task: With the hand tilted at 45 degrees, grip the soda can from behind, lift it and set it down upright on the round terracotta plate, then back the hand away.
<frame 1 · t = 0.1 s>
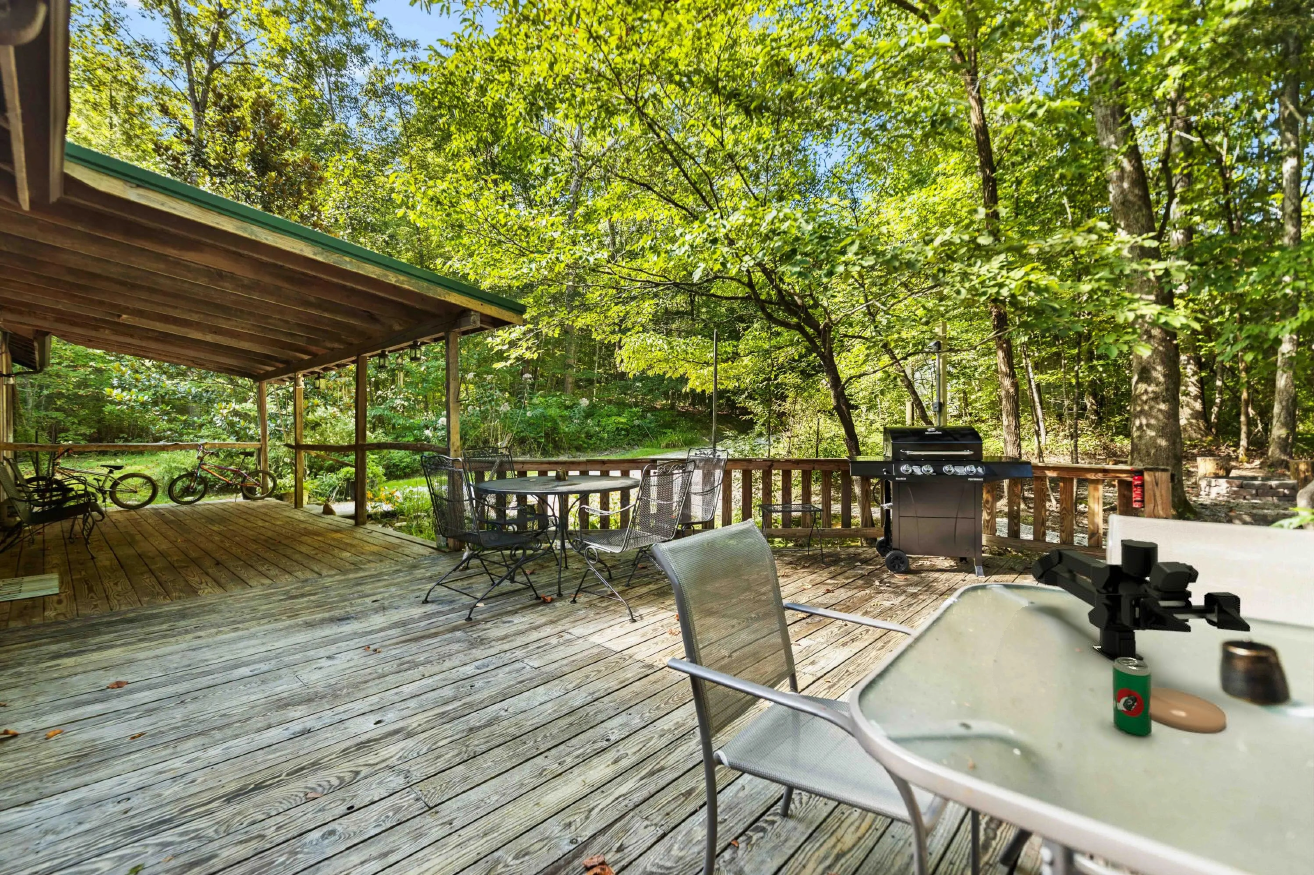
hand: (1219, 629, 95), 17 cm above the table, tool horizontal, fingers open, 9 cm apart
terracotta plate: (1178, 713, 99), on the table
soda can: (1132, 730, 95), on the table
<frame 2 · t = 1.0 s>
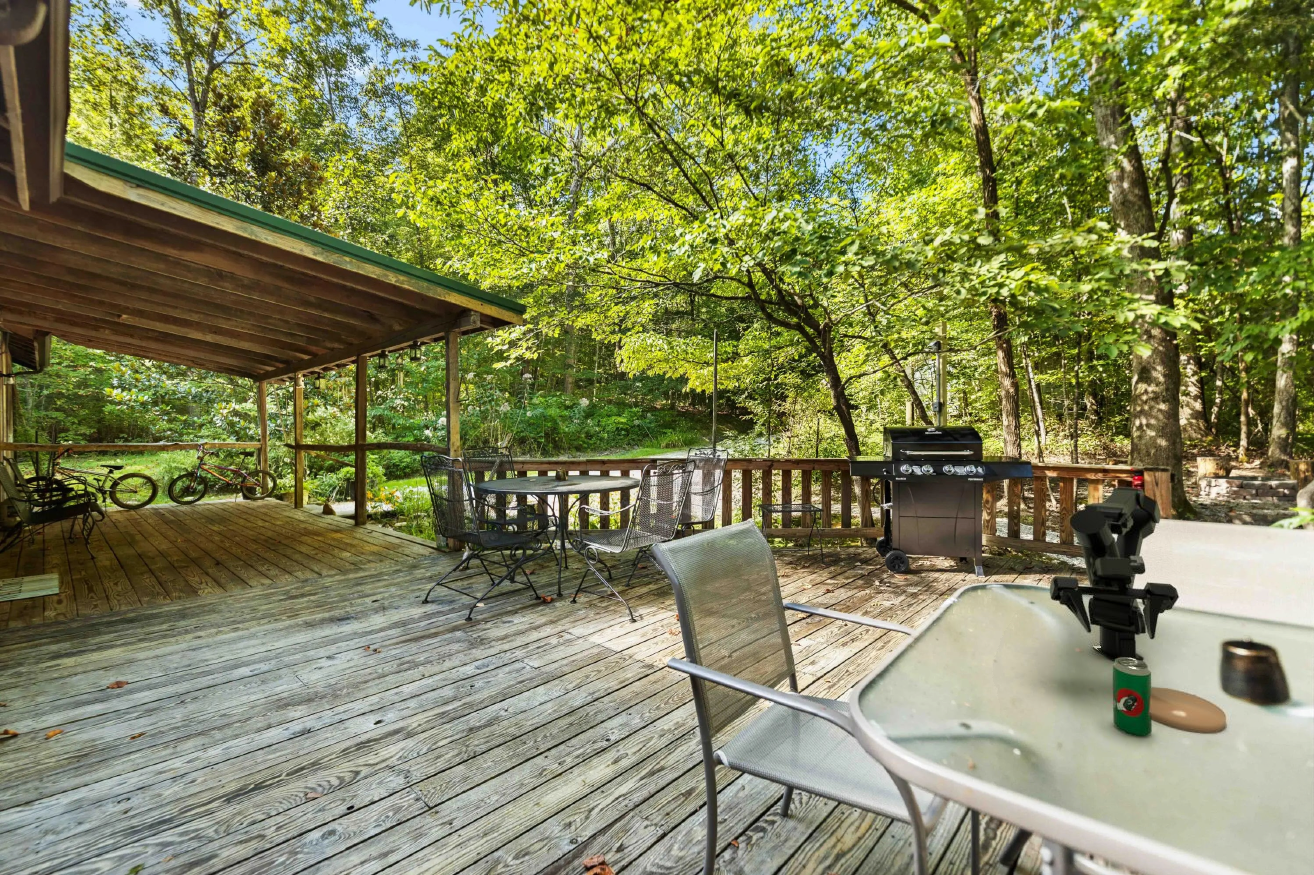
hand: (1120, 634, 101), 14 cm above the table, tool tilted 45°, fingers open, 9 cm apart
nothing on the table moved.
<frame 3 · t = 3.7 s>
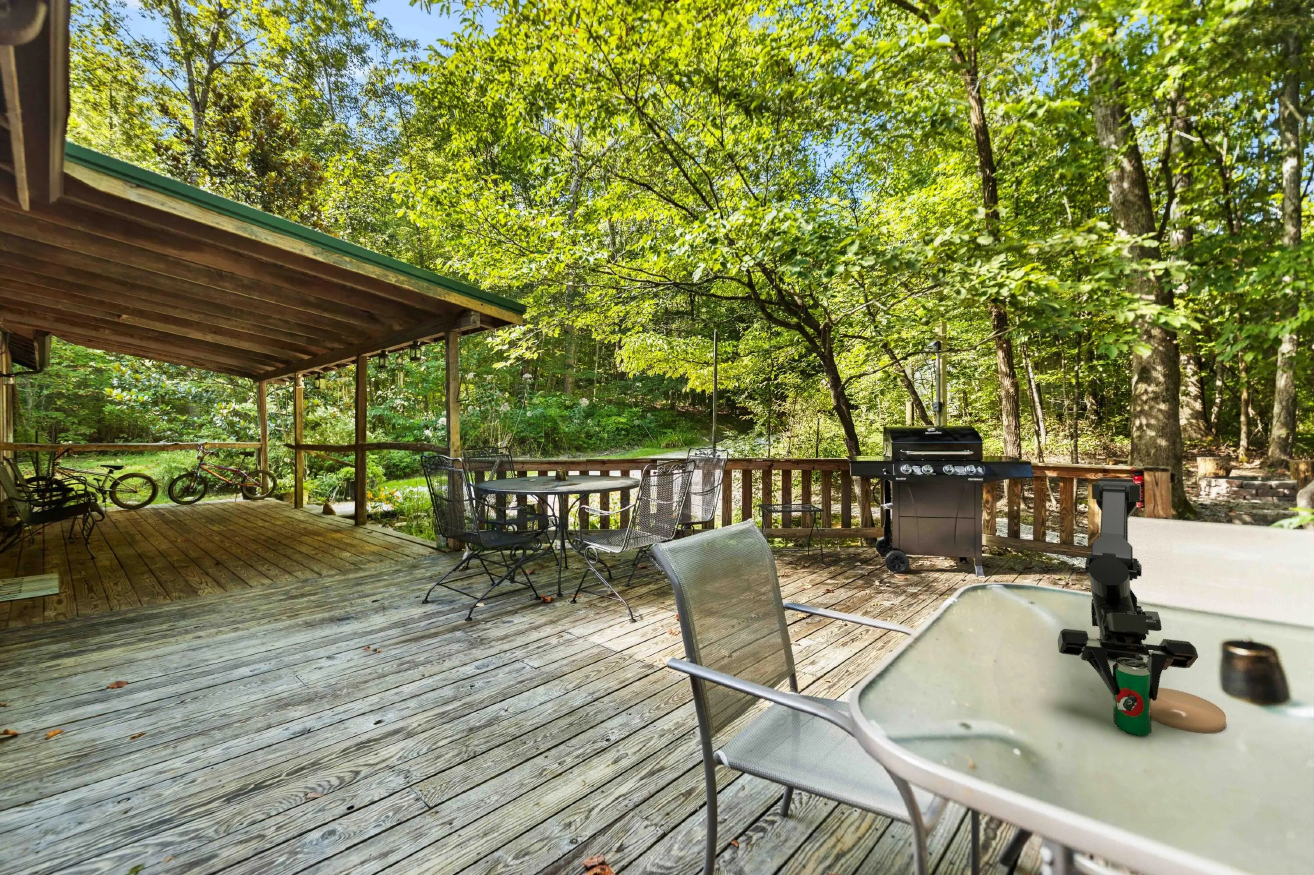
hand: (1134, 697, 94), 7 cm above the table, tool tilted 45°, fingers closed on soda can, 5 cm apart
soda can: (1132, 730, 95), on the table, touching gripper
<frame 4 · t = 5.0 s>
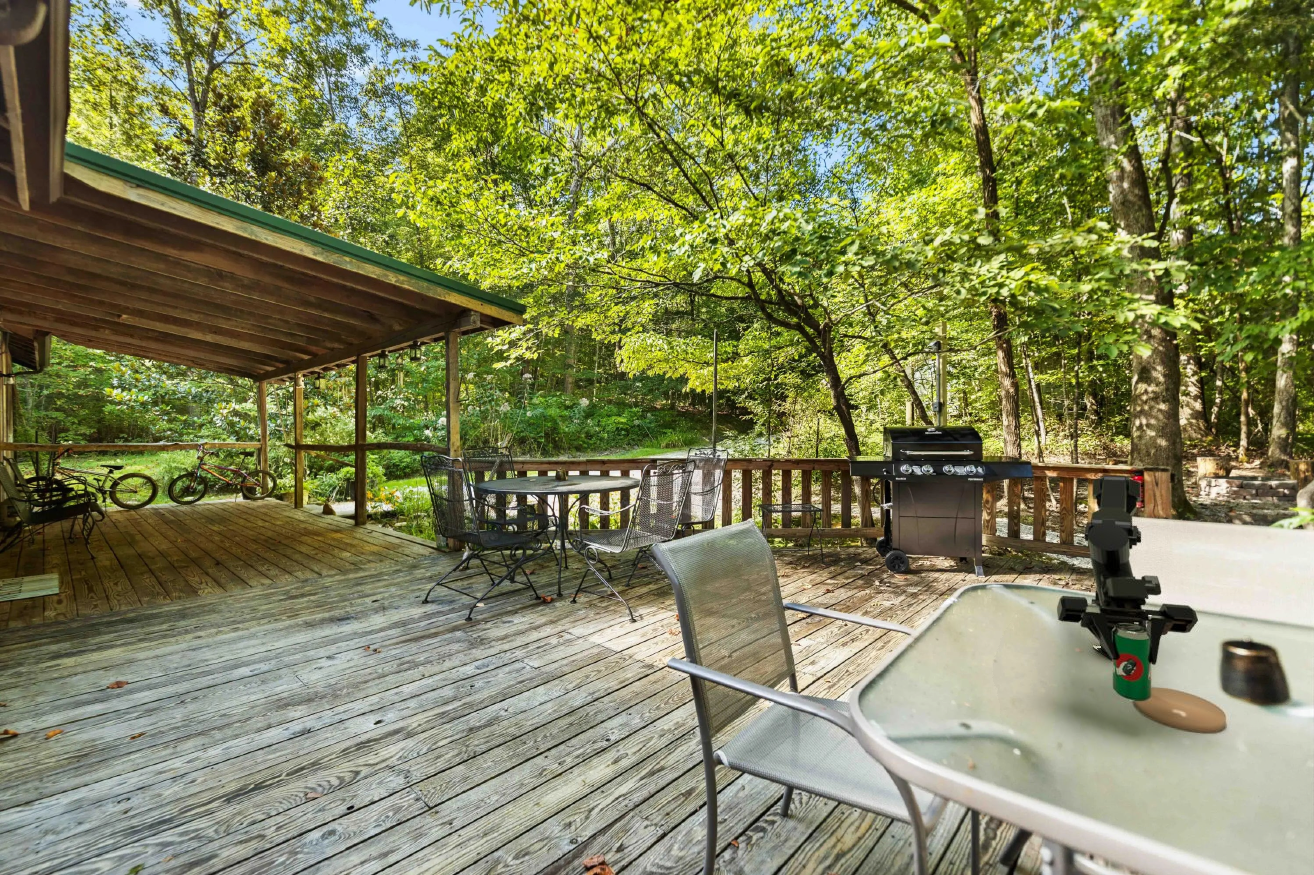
hand: (1133, 661, 93), 13 cm above the table, tool tilted 45°, fingers closed on soda can, 5 cm apart
soda can: (1131, 695, 95), point 6 cm above the table, touching gripper
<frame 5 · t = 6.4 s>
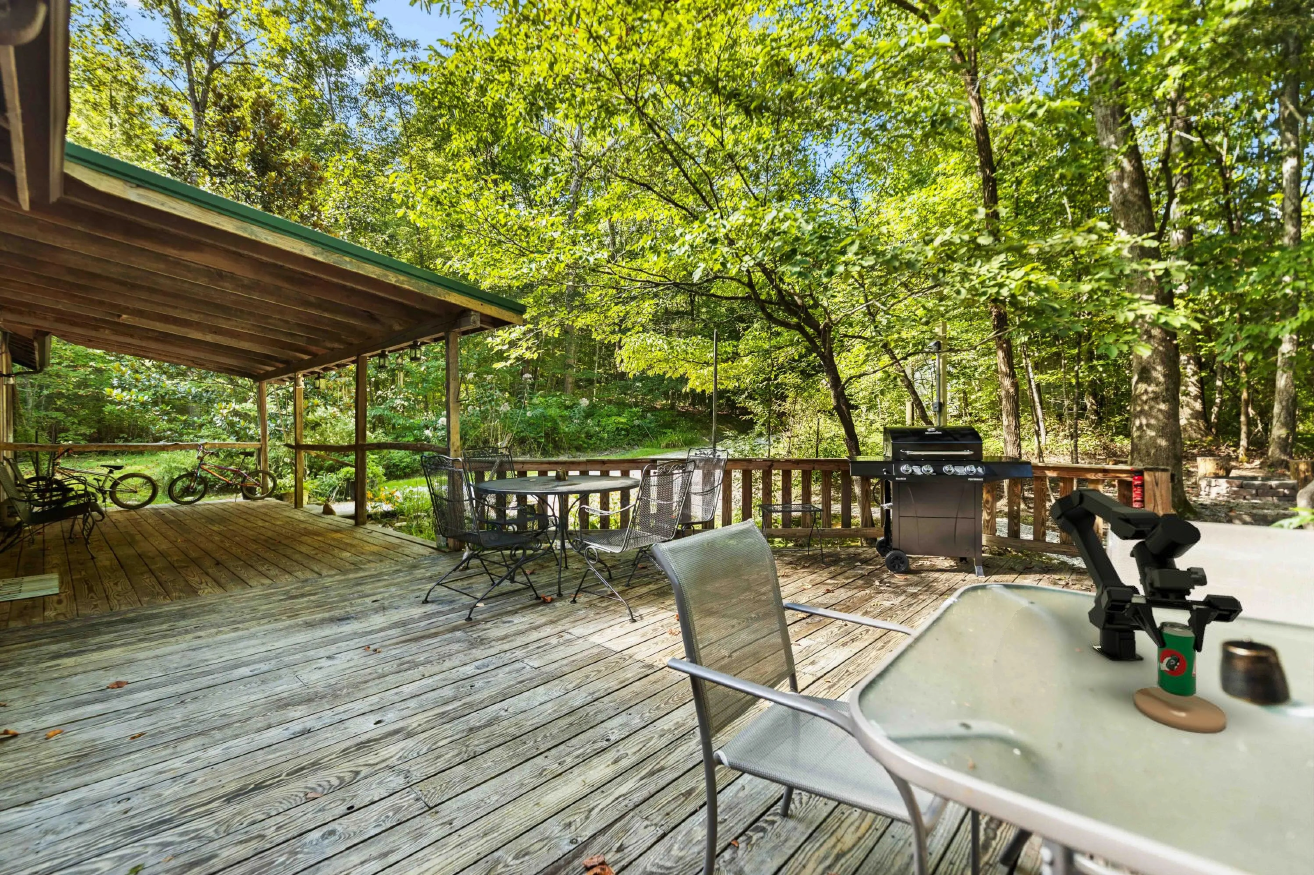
hand: (1180, 649, 97), 12 cm above the table, tool tilted 45°, fingers closed on soda can, 5 cm apart
soda can: (1176, 692, 99), point 4 cm above the table, touching gripper
when the fingers open (10 cm above the table, at t = 7.4 s): soda can stays where it is, resting on terracotta plate.
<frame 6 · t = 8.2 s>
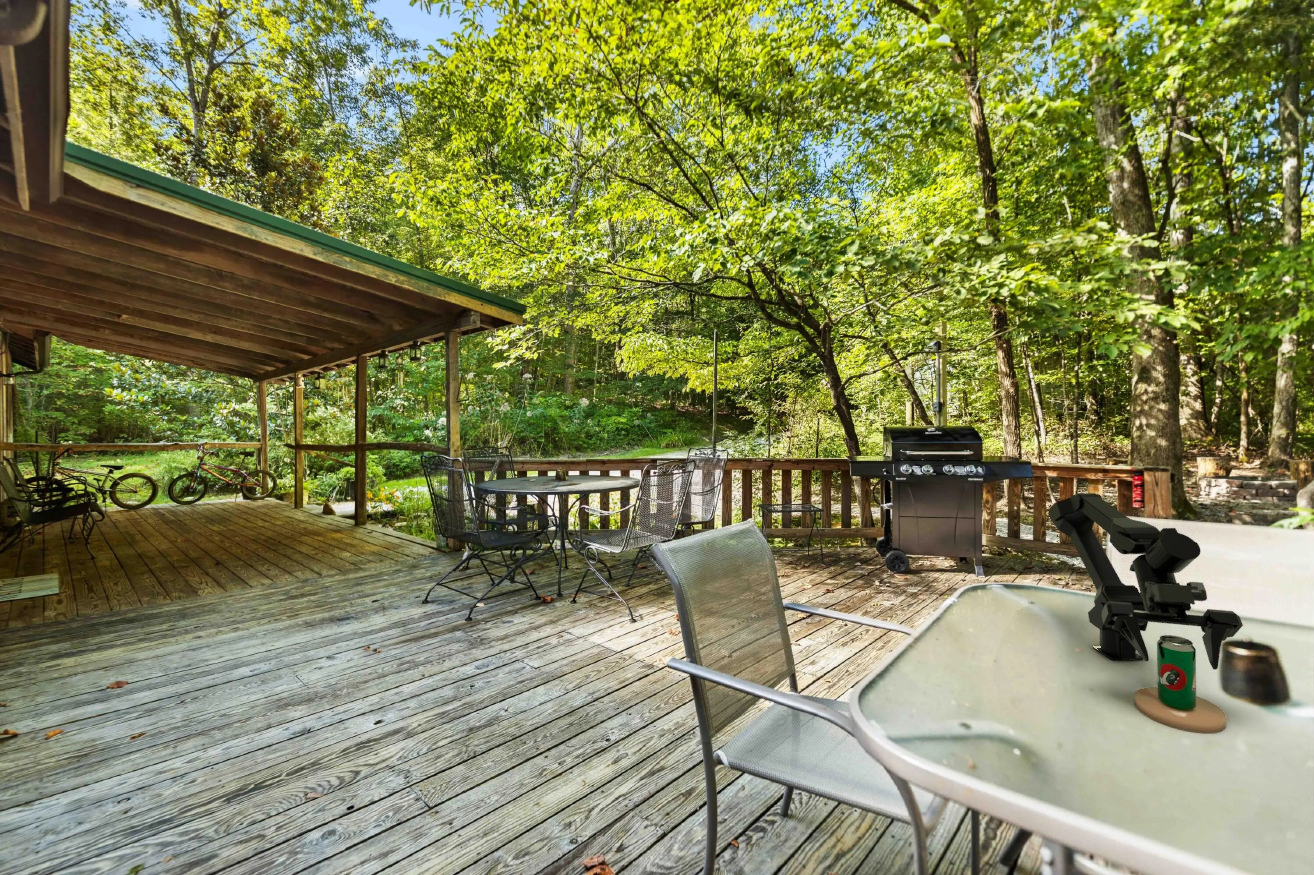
hand: (1180, 664, 97), 10 cm above the table, tool tilted 45°, fingers open, 9 cm apart
soda can: (1176, 705, 99), point 1 cm above the table, touching terracotta plate
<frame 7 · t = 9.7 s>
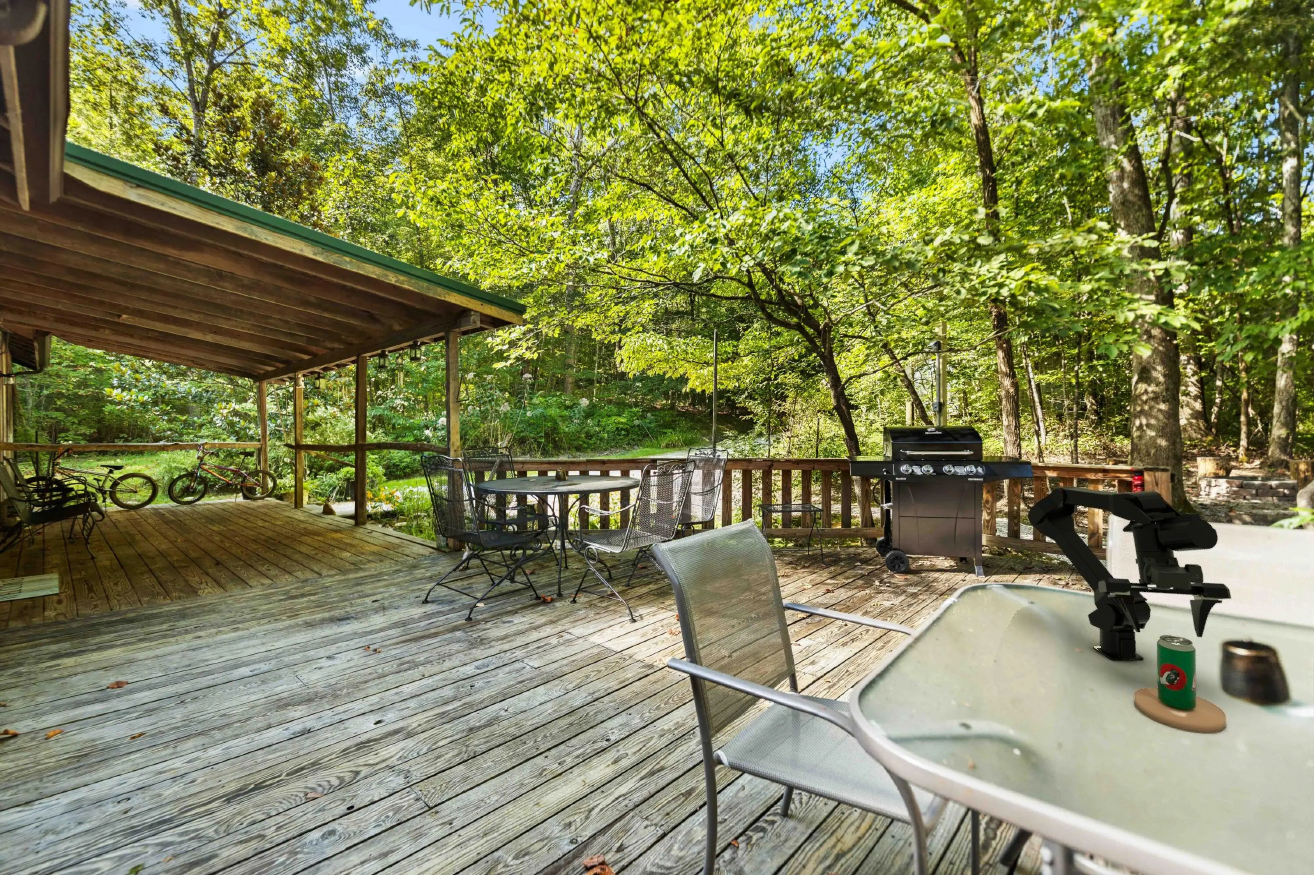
hand: (1168, 634, 106), 11 cm above the table, tool tilted 20°, fingers open, 9 cm apart
nothing on the table moved.
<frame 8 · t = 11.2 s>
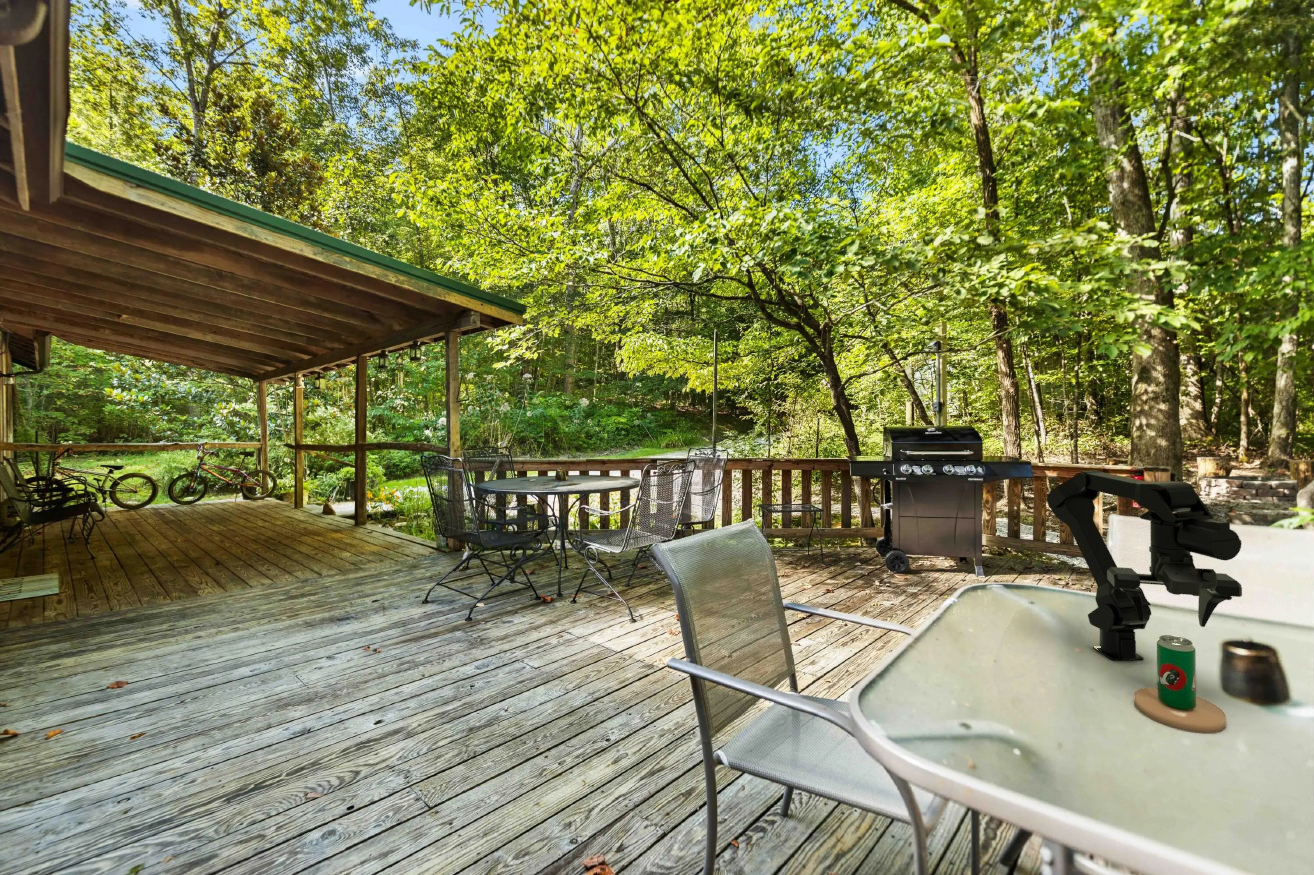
hand: (1170, 623, 108), 12 cm above the table, tool pointing down, fingers open, 9 cm apart
nothing on the table moved.
at the end: soda can inside the target area on the terracotta plate (0.2 cm from its centre), point 1.4 cm above the terracotta plate's base; soda can tilted 0°; the gripper is holding nothing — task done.
